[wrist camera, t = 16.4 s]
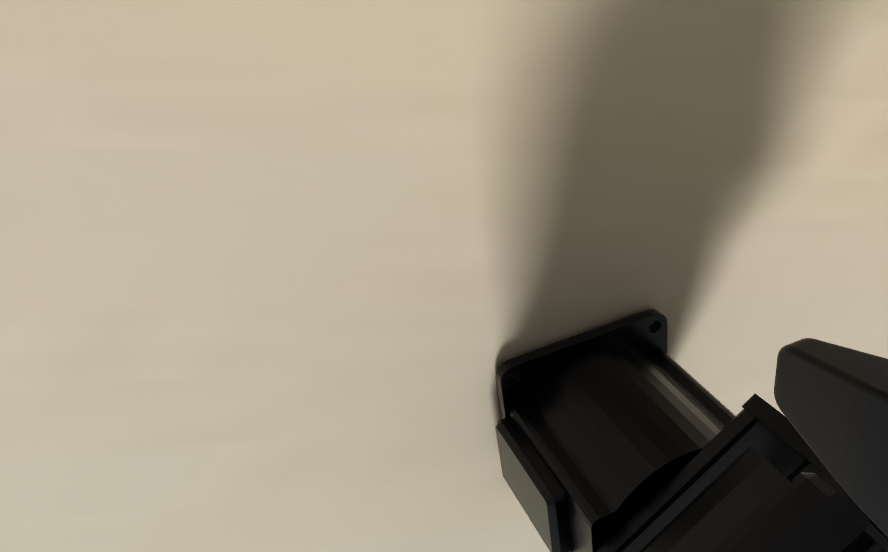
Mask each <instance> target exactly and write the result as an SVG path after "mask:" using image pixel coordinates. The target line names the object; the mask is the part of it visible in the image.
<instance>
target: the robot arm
mask: <svg viewBox="0 0 888 552" xmlns="http://www.w3.org/2000/svg"><path fill="white" fill-rule="evenodd" d="M652 322H654V323H653V324H652V325H651V326H650V324H651V323H652ZM513 372H516V373H515V374H514V375H513V376H512V377H510V378H508V377H509V375H510V374H512V373H513ZM496 382H497V389H498V395H499V402H500V409H501V416H502V419H500V420H499V421H498V423H497V426H496V433H497V440H498V447H499V453H500V460H501V467H502V473H503V477H504V478H505V480H506V482H507V483H508V485H509V486H510V488H511V490H512V491H513V493H514V495H515V496H516V498H517V500H518V501H519V502H520V504H521V506H522V507H523V509H524V510H525V512H526V514H527V515H528V517H529V518H530V520H531V522H532V523H533V525H534V526H535V528H536V530H537V531H538V533H539V534H540V536H541V538H542V539H543V541H544V542H545V544H546V546H547V547H548V549H549V550H550V552H888V359H886V358H882V357H879V356H875V355H871V354H868V353H864V352H860V351H857V350H853V349H849V348H845V347H842V346H838V345H834V344H831V343H827V342H823V341H820V340H816V339H812V338H805V339H801V340H799V341H796V342H794V343H791V344H788V345H786V346H784V347H782V348H781V350H780V351H779V353H778V358H777V368H776V377H775V386H774V395H775V399H776V402H777V404H778V406H779V408H780V410H781V411H782V412H783V414H784V415H785V416H786V417H785V416H784V415H783V414H781V413H780V412H779V411H777V410H776V409H775V408H773V407H772V406H771V405H770V404H768V403H767V402H766V401H764V400H763V399H762V398H760V397H759V396H758V395H756V394H754V395H753V396H752V397H751V398H750V399H749V400H748V401H747V402H746V403H745V404H744V405H743V406H742V407H743V408H744V409H743V410H742V411H741V412H740V413H739V414H738V415H737V416H735V415H734V414H733V413H732V412H731V411H730V410H729V409H727V408H726V407H725V406H724V405H723V404H722V403H721V402H720V401H719V400H717V399H716V398H715V397H714V396H713V395H712V394H711V393H710V392H709V391H707V390H706V389H705V388H704V387H703V386H702V385H701V384H700V383H699V382H697V381H696V380H695V379H694V378H693V377H692V376H691V375H690V374H689V373H687V372H686V371H685V370H684V369H683V368H682V367H681V366H680V365H679V364H677V363H676V362H675V361H674V360H673V359H672V358H671V357H670V356H669V355H667V319H666V317H665V316H664V315H663V314H661V313H660V312H659V311H658V310H656V309H649V310H646V311H643V312H641V313H638V314H635V315H632V316H629V317H627V318H624V319H621V320H618V321H616V322H613V323H610V324H607V325H604V326H602V327H599V328H596V329H593V330H591V331H588V332H585V333H582V334H579V335H577V336H574V337H571V338H568V339H566V340H563V341H560V342H557V343H554V344H552V345H549V346H546V347H543V348H541V349H538V350H535V351H532V352H530V353H527V354H524V355H521V356H518V357H516V358H513V359H510V360H507V361H506V362H504V363H502V364H501V365H500V366H499V367H498V369H497V371H496Z"/></svg>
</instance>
